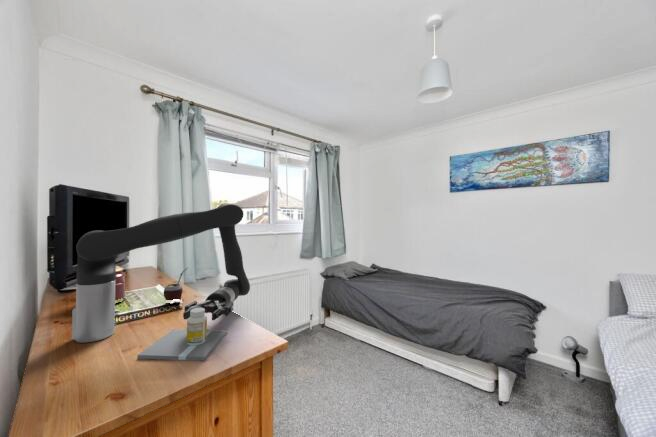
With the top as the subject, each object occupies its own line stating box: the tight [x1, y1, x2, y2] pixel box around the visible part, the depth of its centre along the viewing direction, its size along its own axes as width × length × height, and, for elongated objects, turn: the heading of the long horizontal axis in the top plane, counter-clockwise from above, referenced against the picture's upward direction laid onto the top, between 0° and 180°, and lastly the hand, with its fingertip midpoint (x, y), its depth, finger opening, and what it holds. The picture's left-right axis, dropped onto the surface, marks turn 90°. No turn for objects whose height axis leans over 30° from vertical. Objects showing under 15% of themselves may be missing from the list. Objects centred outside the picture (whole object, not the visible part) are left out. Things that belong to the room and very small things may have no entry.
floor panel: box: [137, 329, 228, 362], centre depth 79 cm, size 18×16×1 cm
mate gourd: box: [163, 267, 188, 301], centre depth 115 cm, size 8×8×15 cm
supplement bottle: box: [186, 308, 208, 346], centre depth 79 cm, size 5×5×10 cm
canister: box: [115, 265, 127, 300], centre depth 113 cm, size 13×13×18 cm
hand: (199, 316), depth 79 cm, fingers open, 8 cm apart
